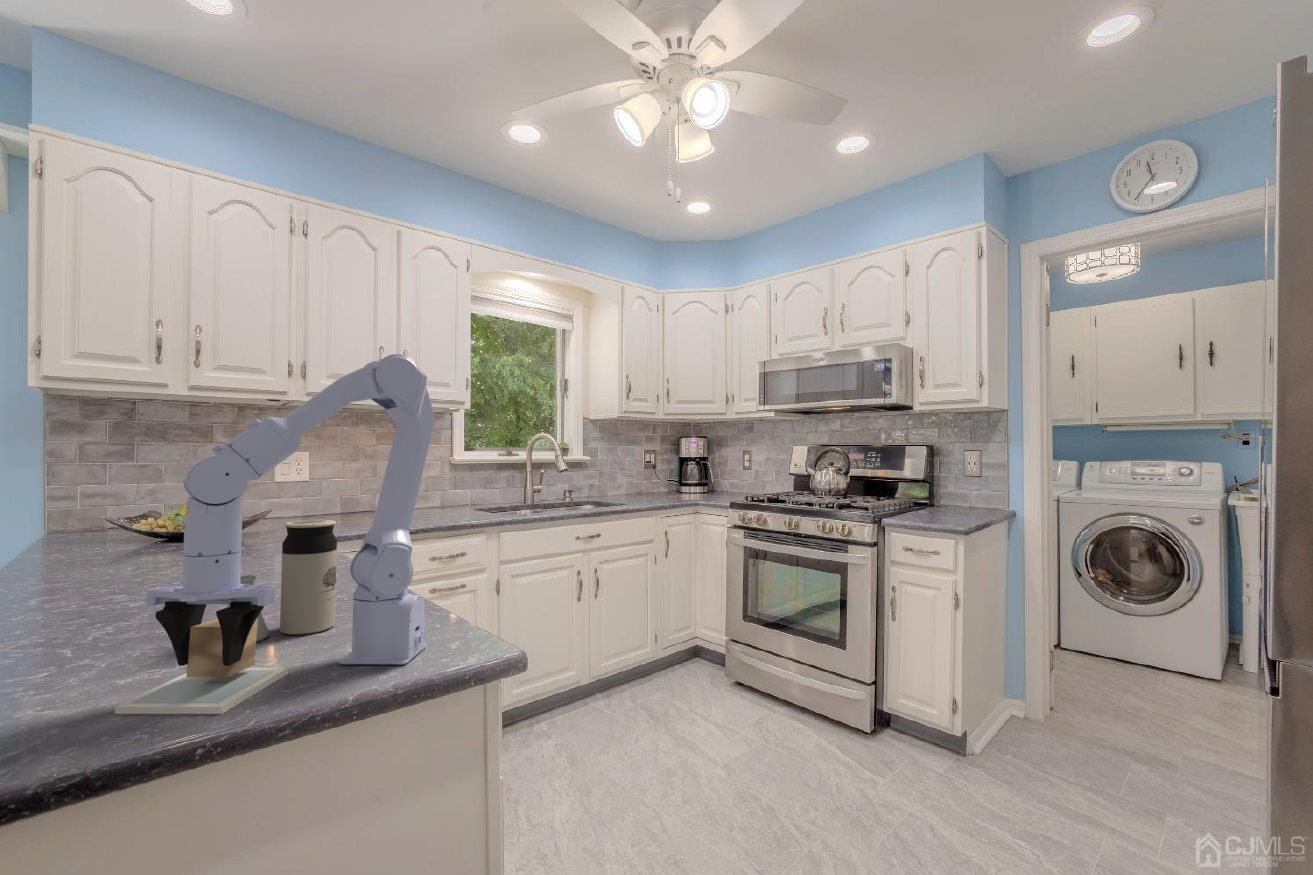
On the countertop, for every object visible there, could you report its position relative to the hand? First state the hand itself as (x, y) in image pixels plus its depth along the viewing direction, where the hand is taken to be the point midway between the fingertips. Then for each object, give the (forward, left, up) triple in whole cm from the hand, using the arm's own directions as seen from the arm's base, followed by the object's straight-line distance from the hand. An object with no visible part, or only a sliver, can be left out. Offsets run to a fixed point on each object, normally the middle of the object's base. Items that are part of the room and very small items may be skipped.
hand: (209, 662), depth 71 cm
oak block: (0, -2, -2) cm, 3 cm away
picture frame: (0, 0, -4) cm, 4 cm away
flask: (+10, -20, -4) cm, 23 cm away
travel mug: (+3, -26, -4) cm, 26 cm away
